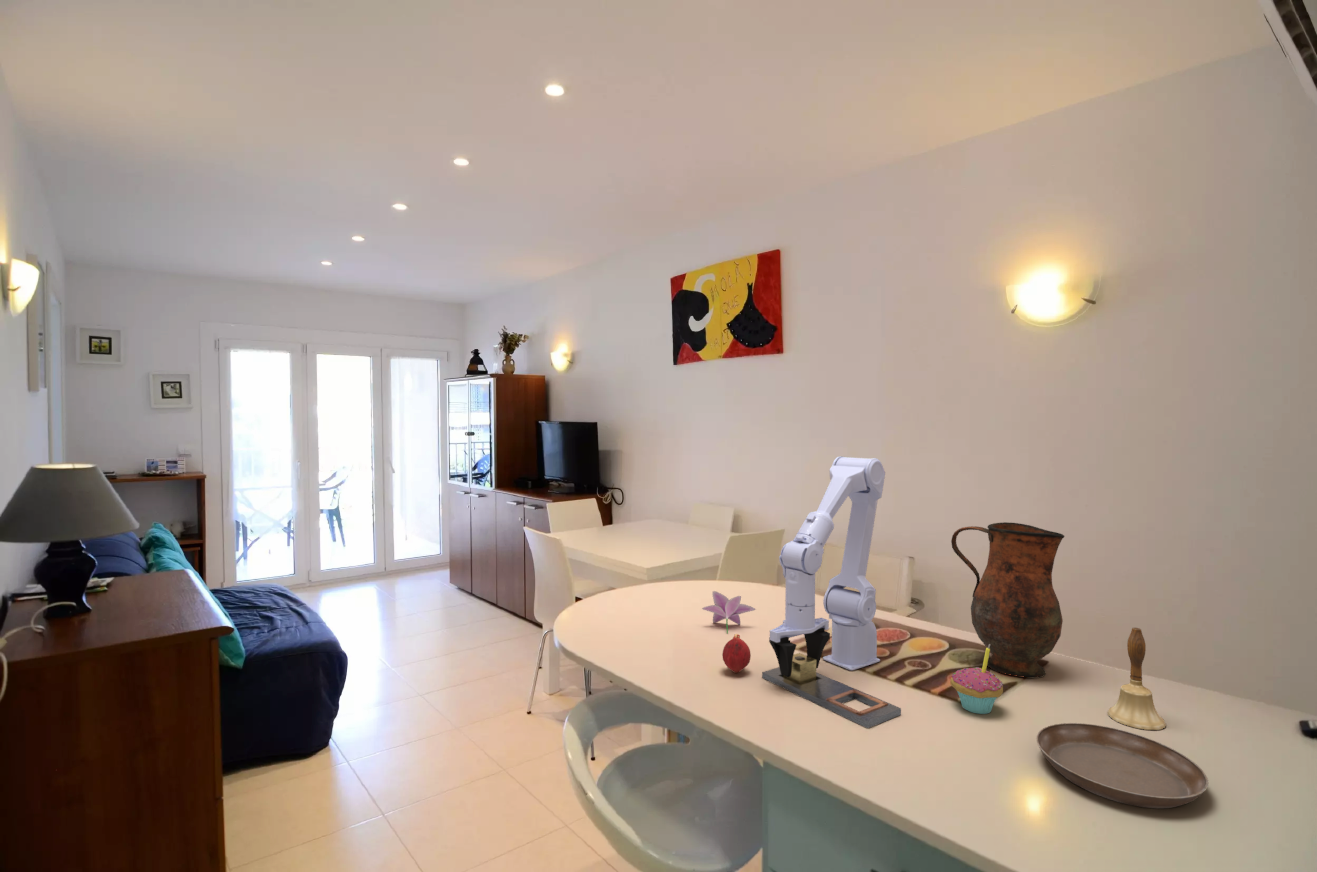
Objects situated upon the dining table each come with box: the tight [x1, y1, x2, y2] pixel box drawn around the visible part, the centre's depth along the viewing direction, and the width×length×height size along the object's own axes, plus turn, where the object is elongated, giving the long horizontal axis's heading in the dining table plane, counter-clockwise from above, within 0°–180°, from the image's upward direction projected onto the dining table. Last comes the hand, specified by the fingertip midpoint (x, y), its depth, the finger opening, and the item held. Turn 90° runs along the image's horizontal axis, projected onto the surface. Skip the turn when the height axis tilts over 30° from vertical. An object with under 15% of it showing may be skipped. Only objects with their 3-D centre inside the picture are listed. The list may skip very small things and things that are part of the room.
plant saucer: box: [1035, 722, 1209, 809], centre depth 97 cm, size 21×21×3 cm
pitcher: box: [950, 521, 1065, 678], centre depth 139 cm, size 17×21×30 cm
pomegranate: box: [721, 633, 752, 674], centre depth 136 cm, size 6×6×8 cm
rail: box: [761, 666, 902, 729], centre depth 125 cm, size 9×26×1 cm, turn 34°
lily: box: [701, 590, 757, 634], centre depth 164 cm, size 12×12×10 cm
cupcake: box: [949, 644, 1004, 715], centre depth 119 cm, size 9×8×12 cm
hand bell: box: [1106, 627, 1167, 731], centre depth 115 cm, size 8×8×16 cm
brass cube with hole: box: [783, 652, 817, 685], centre depth 131 cm, size 4×4×5 cm
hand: (799, 670), depth 131 cm, fingers open, 7 cm apart
